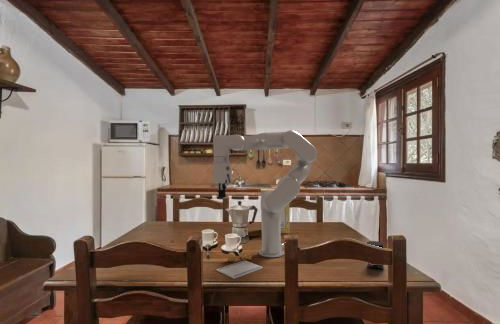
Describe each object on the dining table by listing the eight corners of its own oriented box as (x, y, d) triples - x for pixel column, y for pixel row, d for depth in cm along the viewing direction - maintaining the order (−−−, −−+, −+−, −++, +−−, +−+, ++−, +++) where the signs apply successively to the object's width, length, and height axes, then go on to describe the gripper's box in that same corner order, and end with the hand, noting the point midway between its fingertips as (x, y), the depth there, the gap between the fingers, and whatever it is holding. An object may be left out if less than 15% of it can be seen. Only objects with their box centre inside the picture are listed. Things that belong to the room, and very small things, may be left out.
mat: (244, 261, 132) (244, 260, 132) (262, 268, 123) (262, 266, 123) (216, 270, 121) (216, 269, 121) (234, 278, 112) (234, 277, 112)
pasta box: (261, 233, 183) (260, 190, 183) (261, 229, 194) (260, 188, 194) (289, 233, 182) (289, 190, 183) (288, 229, 193) (287, 188, 193)
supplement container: (365, 264, 126) (364, 240, 126) (380, 264, 125) (380, 241, 125) (369, 269, 119) (369, 245, 119) (386, 270, 119) (386, 245, 119)
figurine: (224, 253, 136) (247, 245, 139) (227, 266, 135) (251, 258, 138) (227, 254, 128) (252, 246, 131) (230, 268, 127) (255, 259, 130)
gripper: (236, 160, 136) (237, 198, 136) (218, 160, 148) (219, 195, 148) (224, 160, 131) (225, 199, 131) (206, 160, 143) (207, 197, 142)
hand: (222, 197), depth 139 cm, fingers closed
